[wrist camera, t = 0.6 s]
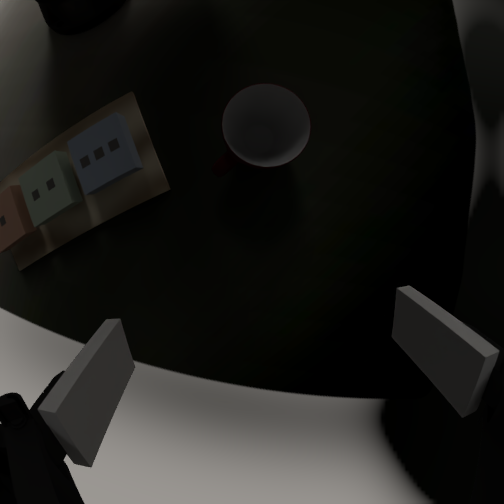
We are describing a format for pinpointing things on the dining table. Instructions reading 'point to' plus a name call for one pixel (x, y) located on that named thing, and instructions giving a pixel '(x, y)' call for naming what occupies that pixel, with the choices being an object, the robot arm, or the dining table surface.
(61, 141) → the board
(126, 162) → the tile
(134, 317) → the dining table surface
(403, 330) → the robot arm
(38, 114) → the dining table surface
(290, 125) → the mug
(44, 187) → the tile
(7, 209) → the tile
